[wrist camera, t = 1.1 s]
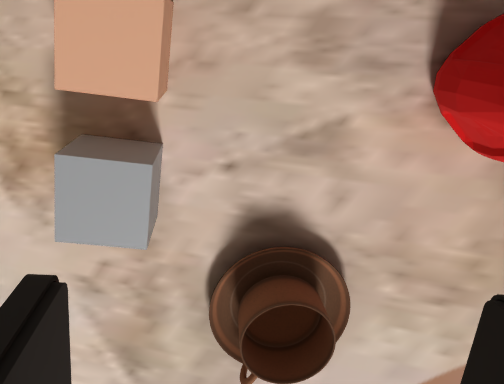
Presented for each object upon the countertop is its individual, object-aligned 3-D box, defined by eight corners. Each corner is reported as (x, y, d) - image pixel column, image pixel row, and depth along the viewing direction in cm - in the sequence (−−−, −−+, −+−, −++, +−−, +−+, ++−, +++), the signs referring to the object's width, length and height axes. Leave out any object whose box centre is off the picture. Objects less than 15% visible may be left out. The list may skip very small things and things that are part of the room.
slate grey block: (81, 133, 34) (54, 154, 28) (162, 143, 34) (152, 164, 29) (80, 208, 35) (54, 241, 30) (157, 216, 36) (146, 249, 31)
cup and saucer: (321, 364, 43) (338, 417, 37) (196, 344, 41) (193, 396, 35) (362, 253, 39) (388, 291, 33) (226, 225, 37) (229, 261, 31)
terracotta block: (83, -12, 30) (54, -22, 25) (173, 2, 31) (164, -5, 25) (82, 79, 32) (54, 89, 27) (167, 90, 33) (157, 101, 27)
